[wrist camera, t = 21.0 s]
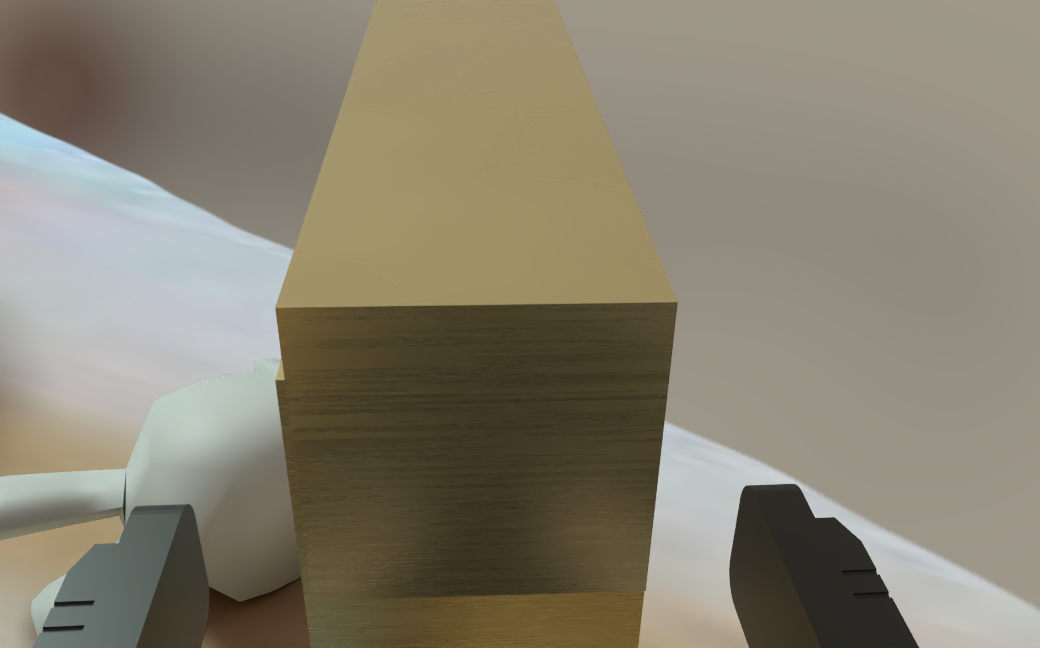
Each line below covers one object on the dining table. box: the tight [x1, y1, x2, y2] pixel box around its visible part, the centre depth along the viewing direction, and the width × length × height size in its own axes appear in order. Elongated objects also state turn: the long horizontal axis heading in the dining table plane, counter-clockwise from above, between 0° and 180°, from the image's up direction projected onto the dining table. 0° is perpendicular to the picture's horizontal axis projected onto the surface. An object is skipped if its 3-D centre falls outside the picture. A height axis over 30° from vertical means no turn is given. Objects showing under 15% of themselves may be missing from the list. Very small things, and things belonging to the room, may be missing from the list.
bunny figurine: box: [0, 359, 301, 636], centre depth 29 cm, size 10×5×15 cm
